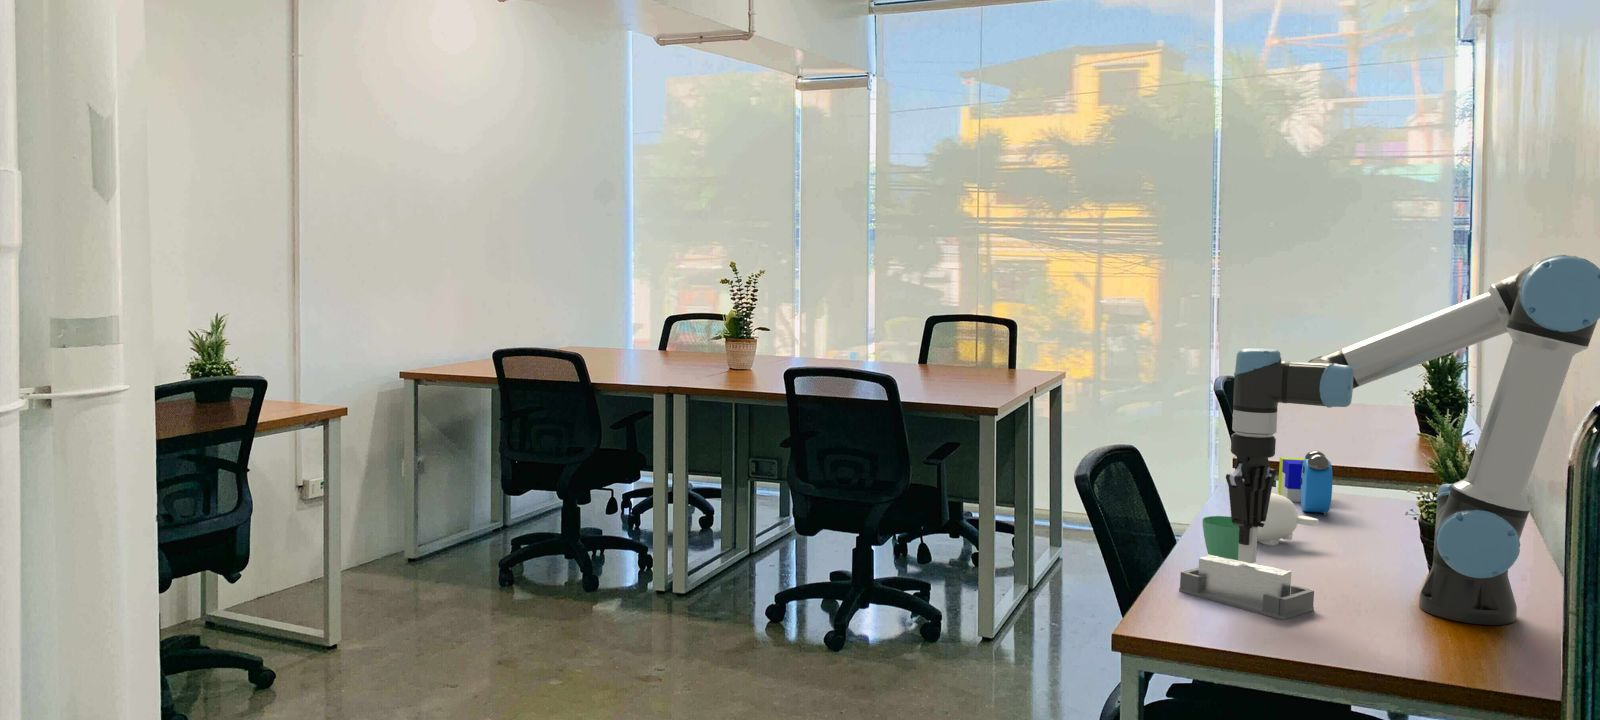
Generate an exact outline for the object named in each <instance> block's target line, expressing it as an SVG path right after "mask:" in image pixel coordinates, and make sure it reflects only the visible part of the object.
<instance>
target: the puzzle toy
mask: <svg viewBox="0 0 1600 720" xmlns="http://www.w3.org/2000/svg"><path fill="white" fill-rule="evenodd" d="M1304 460H1305V457H1288V456H1287V457H1286V456H1280V457H1279V463H1278V465H1279V466H1278V481H1277V482H1278V485H1277V487H1278V488H1277V494H1278V493H1279V494H1278V495H1281V496H1284V497H1286V498H1288V499H1289V500H1290V501H1291V502H1296V503H1297V502H1298V503H1301V474H1302V466H1303V462H1304Z"/></svg>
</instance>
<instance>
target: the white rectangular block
mask: <svg viewBox="0 0 1600 720" xmlns="http://www.w3.org/2000/svg"><path fill="white" fill-rule="evenodd" d="M1198 568H1199V571H1198V575H1199V576H1202V581H1201V591H1205V592H1210V593H1214V594H1219V595H1223V596H1228V597H1232V598H1237V599H1241V600H1245V601H1250V602H1254V603H1259V604H1263V594H1266V593H1267V594H1271V595H1275V596H1279V597H1286V596H1289V595H1290V593H1291V586H1292V585H1291V584H1292V571H1291V570H1287V569H1281V568H1277V567H1272V566H1267V565H1261V564H1257V563H1252V564H1251V563H1247V562H1243V561H1238V560H1233V559H1228V558H1223V557H1218V556H1213V555H1208V554H1207V555H1204V556H1202V557H1199V559H1198Z"/></svg>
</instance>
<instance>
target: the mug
mask: <svg viewBox="0 0 1600 720" xmlns="http://www.w3.org/2000/svg"><path fill="white" fill-rule="evenodd" d="M1202 529H1203V530H1202V531H1203V537H1204V542H1205V547H1206V551H1207V555H1213V556H1218V557H1223V558H1228V559H1233V560H1238V548H1239V526H1238V525H1234V524H1233V523H1232V519H1231V516H1226V515H1225V516H1224V515H1223V516H1222V515H1211V516H1205V517H1203V518H1202Z"/></svg>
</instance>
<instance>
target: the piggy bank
mask: <svg viewBox="0 0 1600 720" xmlns="http://www.w3.org/2000/svg"><path fill="white" fill-rule="evenodd" d="M1261 523H1264V526H1263V527H1259V526H1258V533H1257V543H1261V544H1263V545H1267V546H1276V545H1278V544H1280V539H1283V540H1287V541H1291V540H1293V533H1294V531H1295V530H1296V528H1297V525H1298V524H1299V525H1303V526H1310V527H1311V526H1312V527H1316V526H1319V519H1318V518H1315V517H1311V516H1308V515H1299V514H1298V510H1297V507H1296V505H1295V504H1294V503H1293V501H1290V500H1289V499H1288V498H1286V497H1284V496H1281V495H1279V494H1278V493H1274V492H1271V495H1270V501H1269V506H1268V512H1267V517H1266V521H1265V522H1263V521H1262V522H1261Z"/></svg>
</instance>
